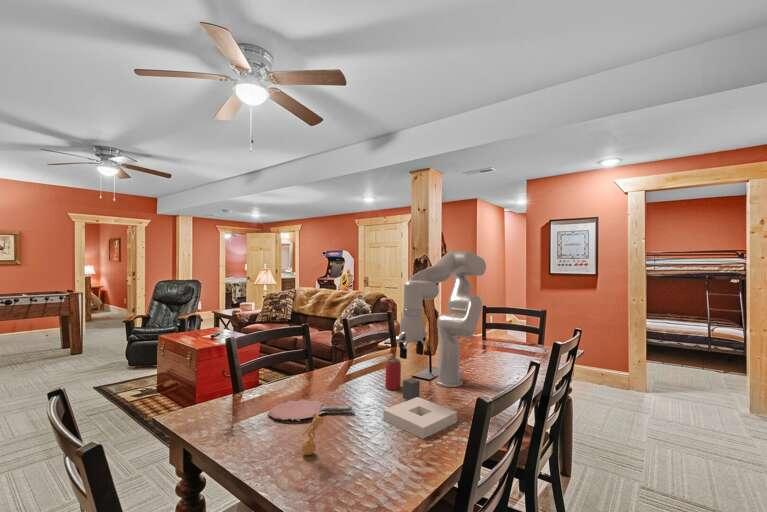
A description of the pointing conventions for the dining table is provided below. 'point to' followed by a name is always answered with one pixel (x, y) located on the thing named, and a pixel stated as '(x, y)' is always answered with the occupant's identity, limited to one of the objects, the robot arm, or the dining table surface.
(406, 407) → the socket
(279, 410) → the table tennis paddle
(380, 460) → the dining table surface
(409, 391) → the plug
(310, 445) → the figurine
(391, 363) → the beer can
